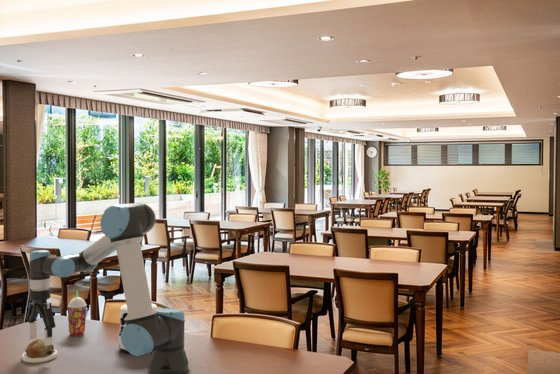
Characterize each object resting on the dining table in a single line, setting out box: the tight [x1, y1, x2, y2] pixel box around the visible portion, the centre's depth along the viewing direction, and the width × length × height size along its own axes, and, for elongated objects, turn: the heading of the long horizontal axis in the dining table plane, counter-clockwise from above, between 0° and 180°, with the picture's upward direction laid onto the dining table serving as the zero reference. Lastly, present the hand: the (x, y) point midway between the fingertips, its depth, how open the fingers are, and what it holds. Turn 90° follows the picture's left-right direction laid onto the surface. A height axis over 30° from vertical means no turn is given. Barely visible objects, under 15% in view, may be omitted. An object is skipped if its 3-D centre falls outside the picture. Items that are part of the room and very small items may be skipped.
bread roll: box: [24, 338, 55, 358], centre depth 224 cm, size 10×10×8 cm
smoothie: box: [66, 290, 88, 337], centre depth 256 cm, size 8×8×20 cm
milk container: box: [116, 302, 158, 352], centre depth 237 cm, size 17×17×18 cm
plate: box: [21, 348, 58, 364], centre depth 224 cm, size 13×13×2 cm
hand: (40, 341), depth 224 cm, fingers open, 13 cm apart
